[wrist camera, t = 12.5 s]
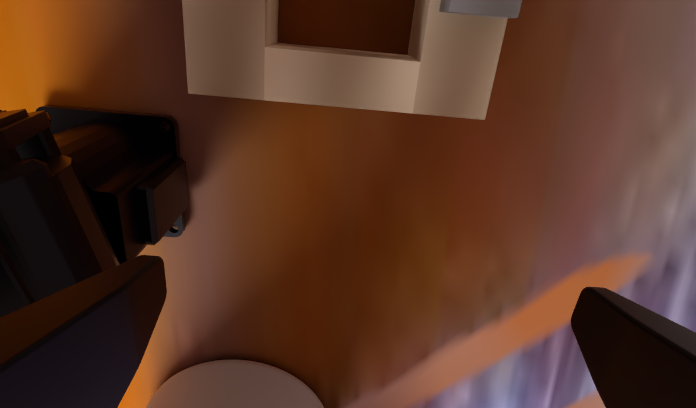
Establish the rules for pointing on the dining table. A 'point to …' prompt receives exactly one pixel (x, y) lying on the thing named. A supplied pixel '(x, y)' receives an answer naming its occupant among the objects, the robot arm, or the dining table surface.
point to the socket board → (349, 59)
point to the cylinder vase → (234, 387)
